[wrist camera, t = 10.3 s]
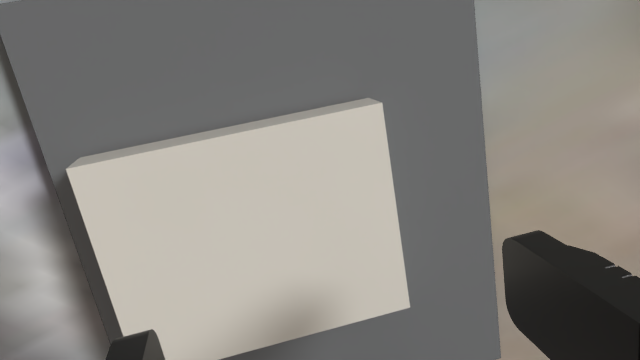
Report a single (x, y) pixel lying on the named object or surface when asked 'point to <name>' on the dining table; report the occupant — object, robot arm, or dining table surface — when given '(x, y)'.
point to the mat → (277, 100)
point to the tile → (248, 230)
